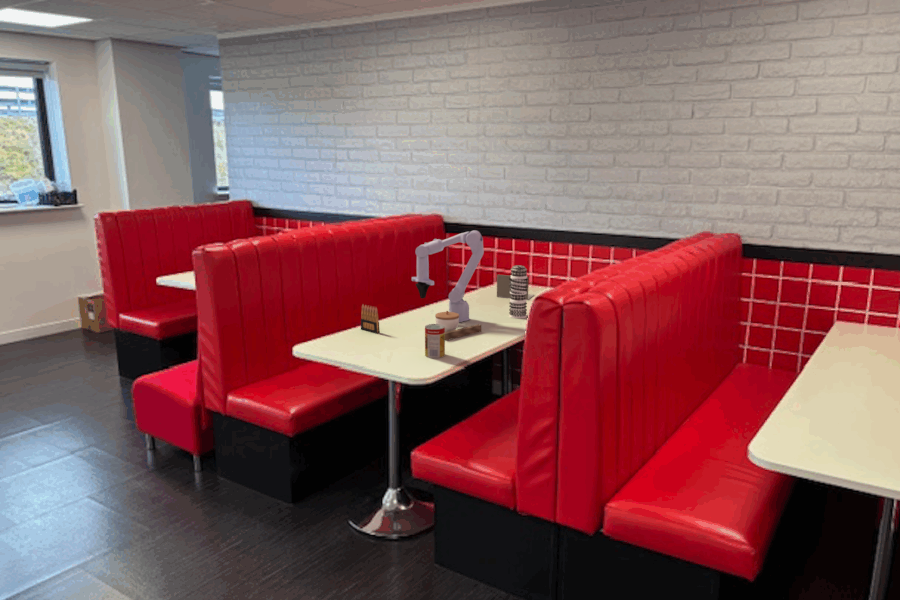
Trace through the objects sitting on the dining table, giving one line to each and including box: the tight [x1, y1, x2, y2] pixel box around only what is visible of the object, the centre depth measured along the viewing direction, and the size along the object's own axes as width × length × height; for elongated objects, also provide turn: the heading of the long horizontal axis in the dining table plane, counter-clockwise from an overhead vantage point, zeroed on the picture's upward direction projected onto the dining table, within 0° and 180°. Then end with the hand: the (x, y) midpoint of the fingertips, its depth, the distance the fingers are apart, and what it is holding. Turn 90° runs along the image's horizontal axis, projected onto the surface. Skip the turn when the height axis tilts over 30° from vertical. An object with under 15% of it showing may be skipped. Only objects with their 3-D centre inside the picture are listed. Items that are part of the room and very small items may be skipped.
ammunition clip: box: [360, 303, 381, 334], centre depth 309 cm, size 11×2×12 cm, turn 48°
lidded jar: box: [435, 310, 460, 332], centre depth 310 cm, size 11×11×9 cm
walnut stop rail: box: [445, 323, 483, 341], centre depth 303 cm, size 22×2×3 cm, turn 132°
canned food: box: [424, 323, 446, 359], centre depth 274 cm, size 8×8×12 cm
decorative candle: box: [508, 264, 529, 319], centre depth 335 cm, size 9×9×25 cm
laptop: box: [496, 274, 535, 301], centre depth 380 cm, size 18×12×13 cm
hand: (422, 297), depth 330 cm, fingers closed
